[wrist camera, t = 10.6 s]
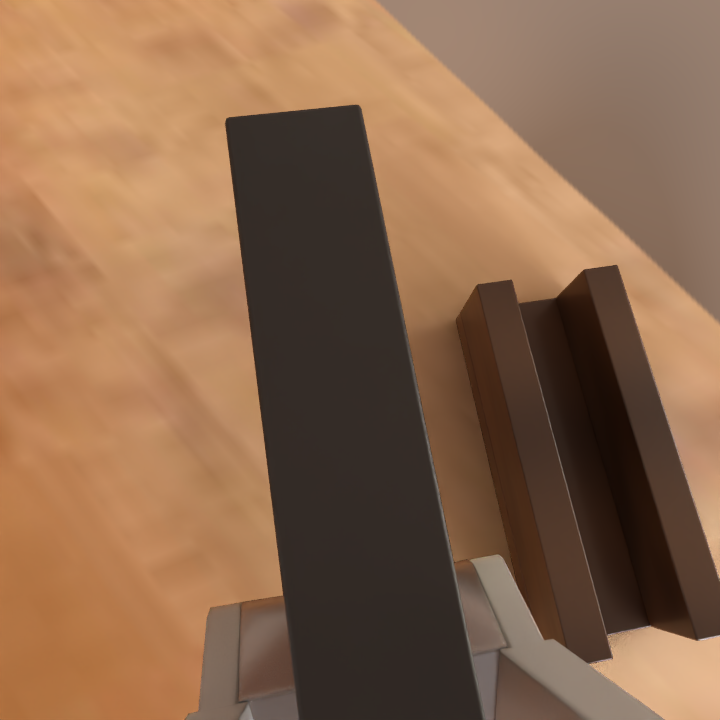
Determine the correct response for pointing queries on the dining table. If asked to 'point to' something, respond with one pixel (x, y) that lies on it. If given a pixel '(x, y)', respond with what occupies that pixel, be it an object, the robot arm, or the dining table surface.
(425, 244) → the dining table surface
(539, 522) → the holder
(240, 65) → the dining table surface
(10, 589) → the dining table surface
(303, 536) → the frame
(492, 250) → the dining table surface
